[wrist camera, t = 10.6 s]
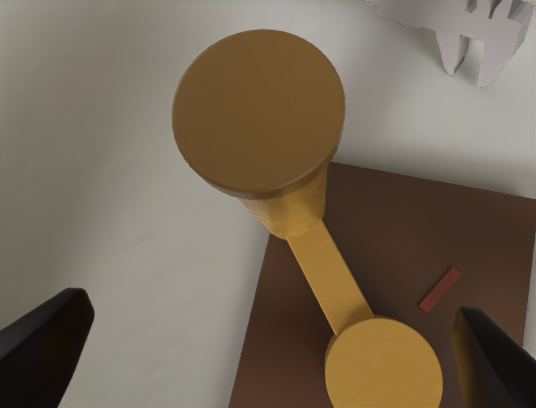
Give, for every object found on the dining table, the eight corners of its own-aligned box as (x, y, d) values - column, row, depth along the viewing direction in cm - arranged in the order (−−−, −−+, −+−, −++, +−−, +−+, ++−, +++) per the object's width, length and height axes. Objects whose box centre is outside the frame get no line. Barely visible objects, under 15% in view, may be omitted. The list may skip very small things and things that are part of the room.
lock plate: (478, 625, 16) (490, 650, 15) (203, 525, 18) (195, 541, 17) (529, 204, 19) (541, 199, 18) (289, 159, 21) (288, 152, 20)
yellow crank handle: (448, 392, 17) (679, 583, 6) (355, 439, 17) (417, 711, 6) (313, 154, 20) (305, -8, 9) (235, 195, 20) (133, 84, 9)
